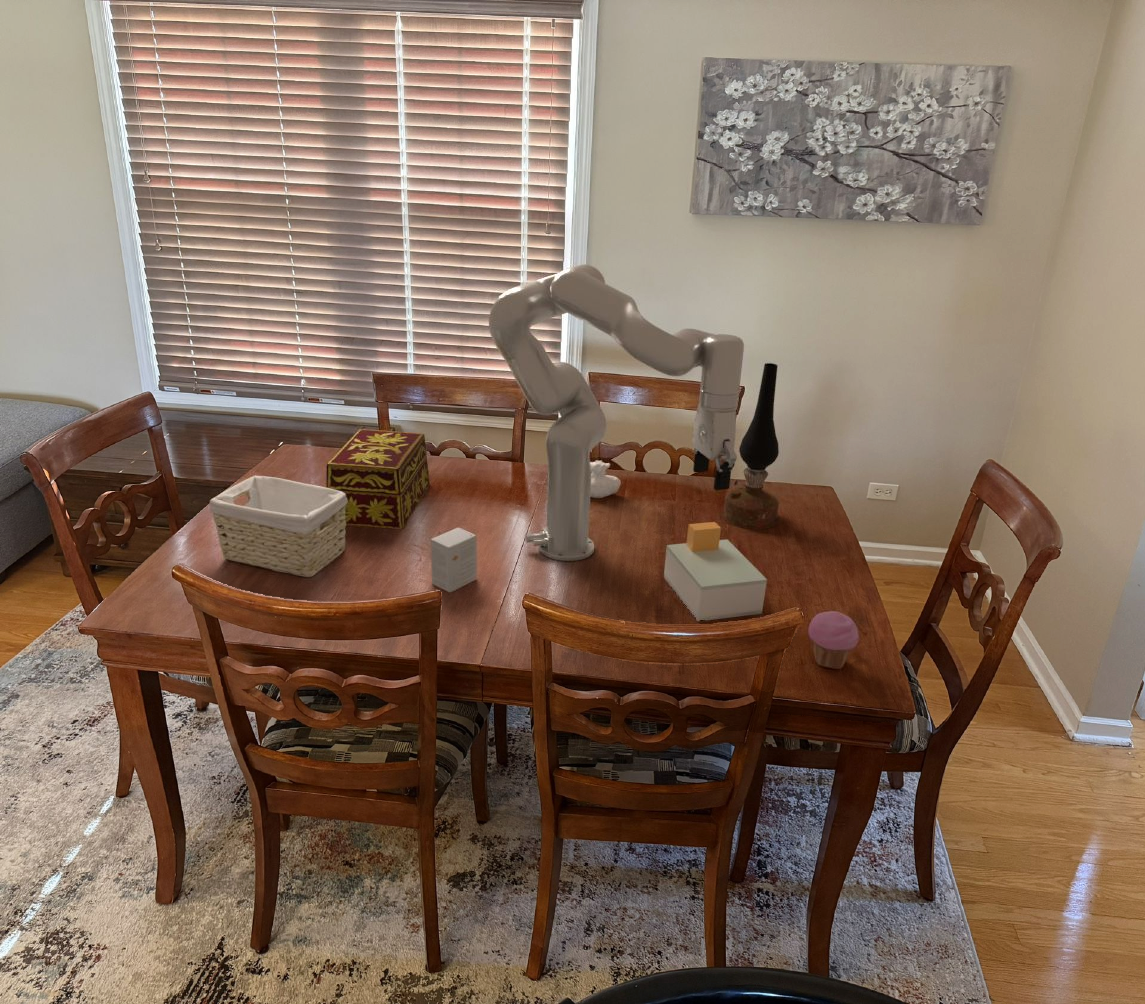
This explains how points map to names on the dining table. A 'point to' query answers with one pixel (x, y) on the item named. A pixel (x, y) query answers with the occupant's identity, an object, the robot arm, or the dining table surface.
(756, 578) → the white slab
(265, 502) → the storage basket
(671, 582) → the tub
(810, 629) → the cupcake
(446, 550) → the small box
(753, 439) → the oil lamp
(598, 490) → the duck figurine
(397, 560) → the dining table surface
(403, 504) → the decorative box
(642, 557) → the dining table surface
